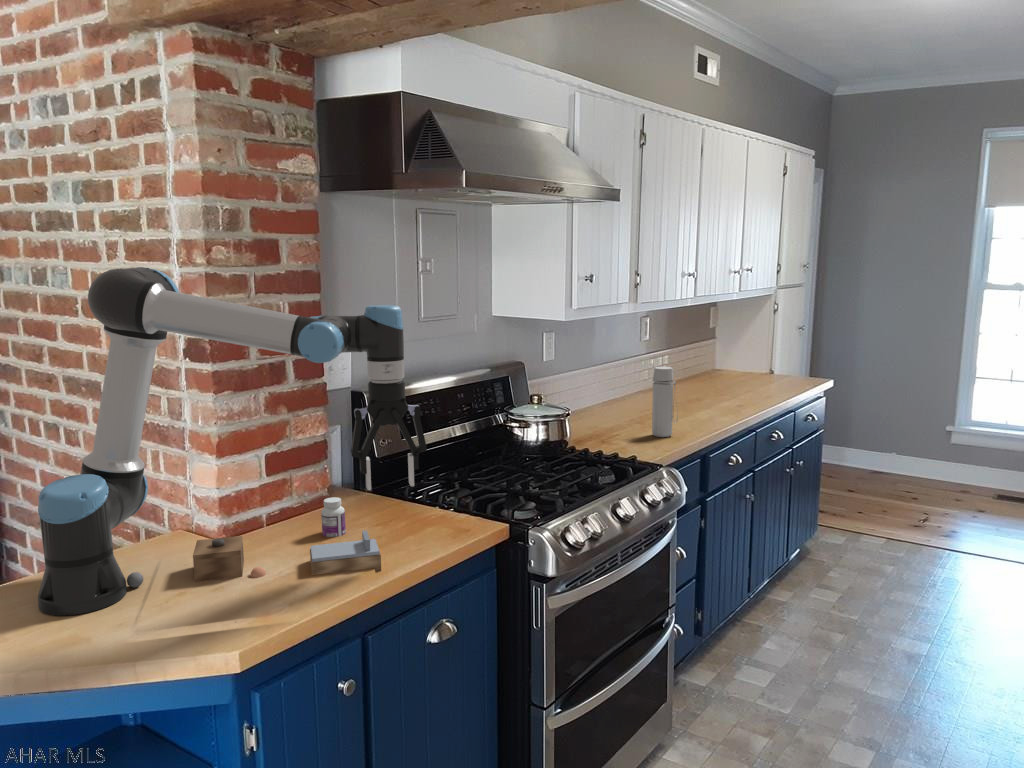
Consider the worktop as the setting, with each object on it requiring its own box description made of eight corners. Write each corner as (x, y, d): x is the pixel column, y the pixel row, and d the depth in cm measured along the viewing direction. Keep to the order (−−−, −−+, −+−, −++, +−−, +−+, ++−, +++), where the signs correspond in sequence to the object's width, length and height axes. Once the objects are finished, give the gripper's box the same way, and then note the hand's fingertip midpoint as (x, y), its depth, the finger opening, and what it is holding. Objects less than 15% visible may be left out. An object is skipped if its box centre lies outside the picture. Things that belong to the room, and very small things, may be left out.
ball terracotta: (250, 585, 160) (249, 571, 159) (251, 579, 162) (250, 565, 162) (266, 583, 160) (265, 569, 160) (266, 577, 163) (265, 563, 163)
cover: (195, 588, 158) (192, 550, 157) (199, 572, 167) (196, 535, 165) (242, 583, 161) (240, 545, 159) (244, 566, 169) (242, 531, 168)
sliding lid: (312, 562, 161) (311, 547, 160) (310, 548, 168) (310, 534, 167) (379, 554, 164) (379, 540, 164) (375, 541, 172) (374, 528, 171)
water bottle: (651, 437, 286) (653, 369, 282) (651, 433, 293) (652, 366, 289) (677, 438, 284) (679, 369, 280) (677, 433, 292) (678, 366, 288)
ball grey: (122, 582, 157) (134, 572, 158) (125, 577, 160) (136, 567, 160) (133, 592, 158) (145, 582, 158) (136, 587, 161) (147, 577, 161)
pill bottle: (336, 533, 189) (334, 494, 188) (350, 538, 186) (348, 498, 184) (317, 540, 185) (315, 500, 184) (332, 545, 182) (330, 504, 180)
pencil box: (312, 581, 161) (311, 562, 160) (310, 567, 169) (309, 549, 168) (381, 573, 165) (380, 555, 164) (376, 559, 172) (376, 542, 172)
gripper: (335, 385, 157) (340, 496, 160) (440, 380, 163) (443, 486, 166) (332, 380, 164) (338, 486, 167) (433, 375, 170) (436, 477, 173)
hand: (390, 486), depth 167 cm, fingers open, 8 cm apart
